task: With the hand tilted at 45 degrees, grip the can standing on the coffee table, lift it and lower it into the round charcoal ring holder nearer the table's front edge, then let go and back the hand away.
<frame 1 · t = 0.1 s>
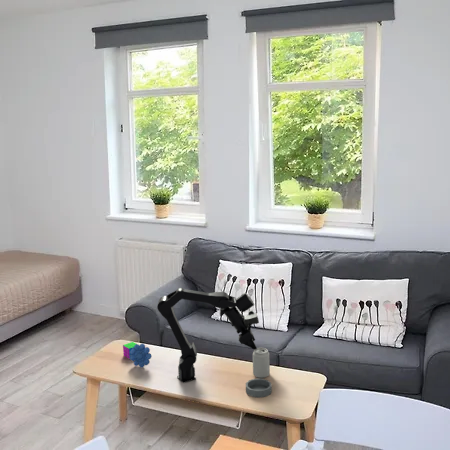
hand: (255, 344, 249), 15 cm above the table, tool tilted 35°, fingers open, 9 cm apart
puzzle toy: (131, 356, 276), on the table
ring holder: (258, 391, 239), on the table
can: (261, 375, 253), on the table
grapes: (142, 366, 264), on the table
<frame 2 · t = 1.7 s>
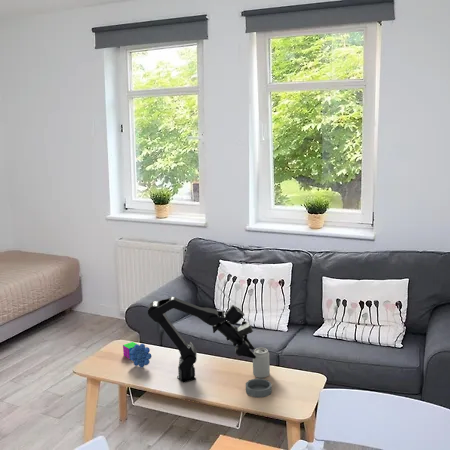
hand: (254, 353, 251), 11 cm above the table, tool tilted 45°, fingers open, 9 cm apart
nothing on the table moved.
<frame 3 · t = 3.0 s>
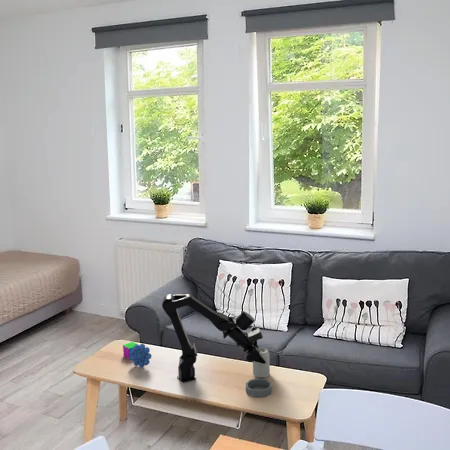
hand: (264, 359, 251), 8 cm above the table, tool tilted 45°, fingers closed on can, 7 cm apart
can: (261, 375, 253), on the table, touching gripper
everything else where it was.
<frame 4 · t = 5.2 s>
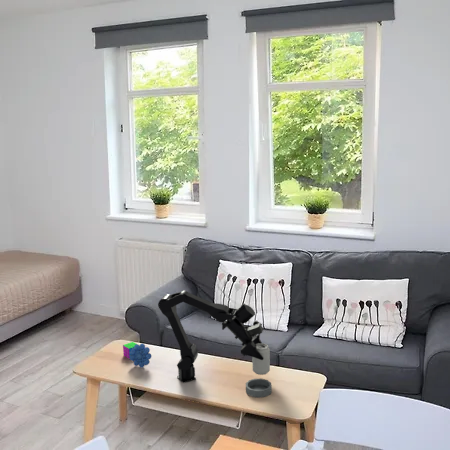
hand: (264, 355, 242), 13 cm above the table, tool tilted 45°, fingers closed on can, 7 cm apart
can: (261, 372, 244), point 5 cm above the table, touching gripper
everything else where it was.
when the fingers open (9 cm above the table, at t = 7.2 s): can drops 1 cm, resting on ring holder.
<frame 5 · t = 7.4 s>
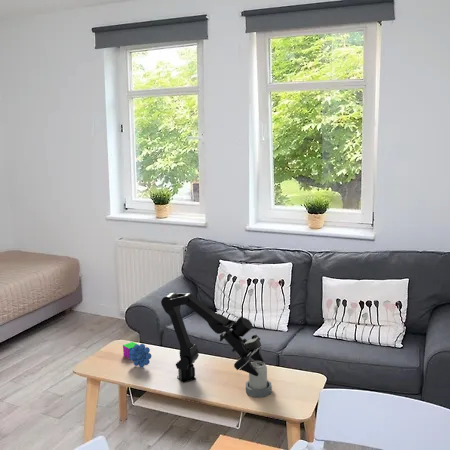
hand: (261, 370, 236), 10 cm above the table, tool tilted 45°, fingers open, 9 cm apart
can: (258, 390, 239), resting on ring holder
everything else where it was.
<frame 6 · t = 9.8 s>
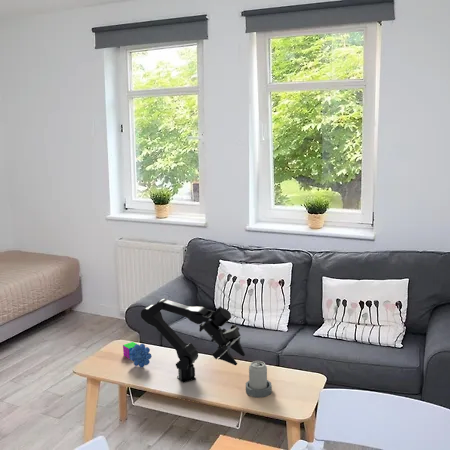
hand: (240, 360, 239), 13 cm above the table, tool tilted 45°, fingers open, 9 cm apart
nothing on the table moved.
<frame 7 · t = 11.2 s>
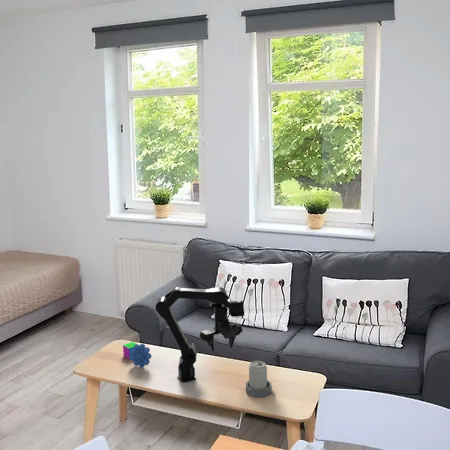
hand: (221, 350, 249), 13 cm above the table, tool pointing down, fingers open, 9 cm apart
nothing on the table moved.
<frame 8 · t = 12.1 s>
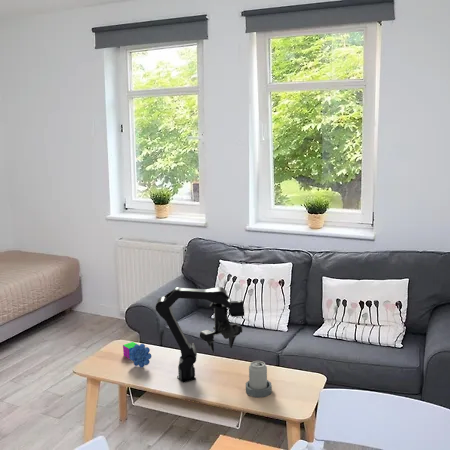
hand: (221, 350, 249), 13 cm above the table, tool pointing down, fingers open, 9 cm apart
nothing on the table moved.
at the end: can 0.2 cm off-centre on the ring holder, point 0.3 cm above the ring holder's base; can tilted 0°; the gripper is holding nothing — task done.
